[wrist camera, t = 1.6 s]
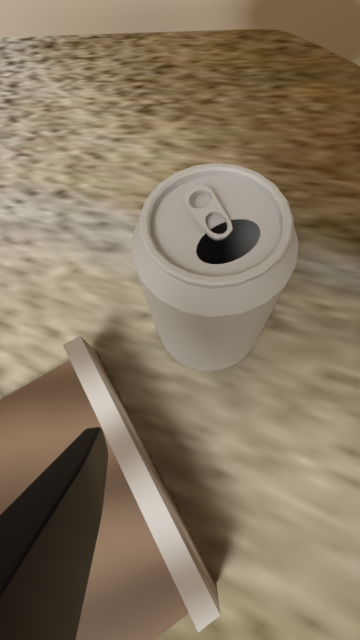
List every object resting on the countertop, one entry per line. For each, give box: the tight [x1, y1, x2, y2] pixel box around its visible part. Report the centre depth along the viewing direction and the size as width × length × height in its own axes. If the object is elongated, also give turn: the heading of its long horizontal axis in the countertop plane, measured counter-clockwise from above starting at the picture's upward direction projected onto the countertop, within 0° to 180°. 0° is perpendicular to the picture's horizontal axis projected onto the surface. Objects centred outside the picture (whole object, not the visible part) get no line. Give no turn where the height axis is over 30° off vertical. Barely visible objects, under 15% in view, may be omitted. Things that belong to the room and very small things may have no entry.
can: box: [132, 163, 299, 371], centre depth 18 cm, size 8×8×12 cm
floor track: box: [0, 336, 220, 640], centre depth 17 cm, size 16×12×4 cm
